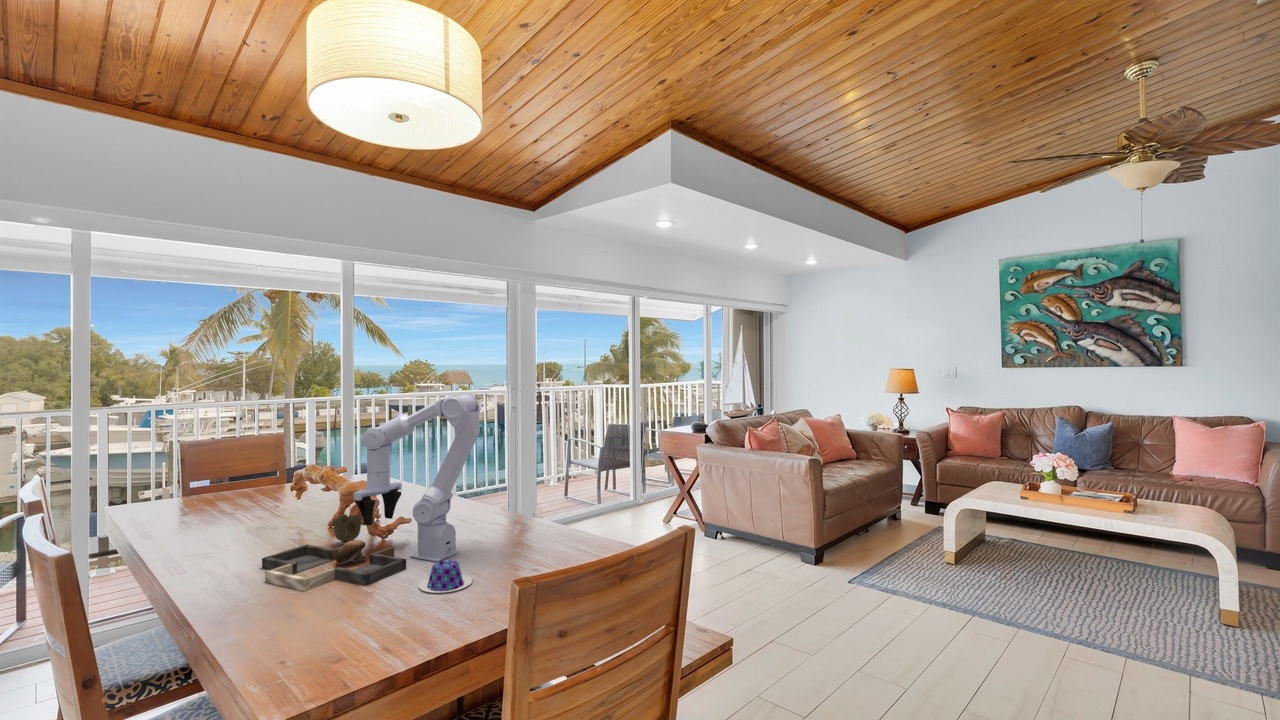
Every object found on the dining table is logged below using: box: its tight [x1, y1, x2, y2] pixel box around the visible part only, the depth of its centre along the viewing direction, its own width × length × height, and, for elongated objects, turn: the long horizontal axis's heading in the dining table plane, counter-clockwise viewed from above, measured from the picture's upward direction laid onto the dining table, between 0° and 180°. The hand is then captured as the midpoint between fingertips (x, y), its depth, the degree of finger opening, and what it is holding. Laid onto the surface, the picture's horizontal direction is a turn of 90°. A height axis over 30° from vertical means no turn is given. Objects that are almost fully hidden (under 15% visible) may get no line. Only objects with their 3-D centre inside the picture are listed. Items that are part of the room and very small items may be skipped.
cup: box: [332, 513, 363, 547], centre depth 172 cm, size 8×7×8 cm
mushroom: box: [335, 539, 367, 566], centre depth 157 cm, size 8×8×6 cm
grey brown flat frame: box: [261, 544, 407, 592], centre depth 153 cm, size 33×26×2 cm
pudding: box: [418, 559, 473, 594], centre depth 142 cm, size 12×12×5 cm
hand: (378, 521), depth 165 cm, fingers open, 6 cm apart
